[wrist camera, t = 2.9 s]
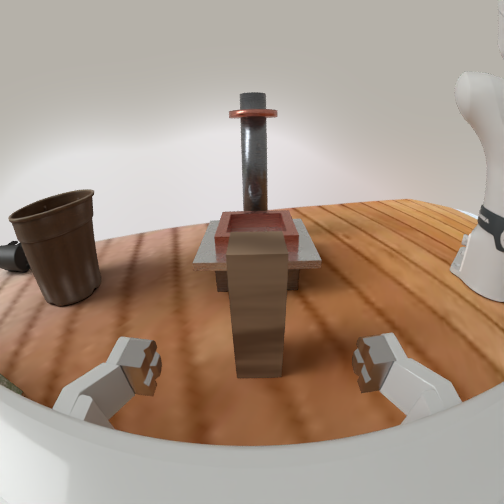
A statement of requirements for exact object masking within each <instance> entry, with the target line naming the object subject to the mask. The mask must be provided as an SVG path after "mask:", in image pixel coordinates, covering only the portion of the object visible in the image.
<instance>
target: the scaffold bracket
mask: <svg viewBox="0 0 504 504" xmlns="http://www.w3.org/2000/svg"><path fill="white" fill-rule="evenodd" d="M271 117H277V110H270V109H266V95H265V93H243V94H240V110H234V111H229V118H241V147H242V177H243V206H244V211H237V212H223V213H222V216H221V219H220V221H210V223H209V226H208V228H207V230H206V233H205V235H204V237H203V240H202V242H201V245H200V247H199V249H198V252H197V254H196V256H195V259H194V261H193V268H194V271H215V272H216V282H217V291H218V292H229V288H228V276H227V264H226V252H227V247H228V242H229V237H230V232H263V231H282V232H283V235H284V239H285V243H286V246H287V250H288V278H287V290H298V280H299V269H311V268H321V262H322V260H321V258H320V256H319V254H318V252H317V250H316V248H315V246H314V244H313V242H312V240H311V238H310V236H309V234H308V232H307V230H306V228H305V226H304V224H303V222H302V220H301V219H292V217H291V215H290V212H289V211H267V133H266V118H271Z"/></svg>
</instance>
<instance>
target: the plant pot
mask: <svg viewBox="0 0 504 504" xmlns="http://www.w3.org/2000/svg"><path fill="white" fill-rule="evenodd" d="M93 195H94V191H93V190H77V191H71V192H66V193H62V194H58V195H55V196H51V197H48V198H45V199H42V200H39V201H37V202H34V203H32V204H29V205H27V206H25V207H23V208H21V209H19V210H17V211H16V212H14V213H12V214H11V215H10V216H9V221H10V222H11V223H12V225H13V227H14V230H15V233H16V236H17V239H18V240H19V241H20V242H21V245H22V248H23V250H24V253H25V255H26V258H27V260H28V263H29V265H30V267H31V270H32V272H33V274H34V277H35V279H36V281H37V283H38V285H39V287H40V290H41V292H42V294H43V296H44V298H45V300H46V301H47V302H48V303H49V304H51V303H54V304H56V305H57V306H63V305H69V304H73V303H76V302H78V301H81V300H83V299H84V298H86V297H88V296H89V295H91V294H92V292H93V290H94V288H98V287H99V285H100V283H101V276H100V271H99V265H98V260H97V254H96V247H95V240H94V232H93V222H92V217H93V203H92V196H93Z"/></svg>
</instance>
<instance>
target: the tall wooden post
mask: <svg viewBox="0 0 504 504" xmlns="http://www.w3.org/2000/svg"><path fill="white" fill-rule="evenodd" d="M226 264H227V276H228V288H229V300H230V312H231V323H232V333H233V343H234V353H235V363H236V373H237V378H273V377H281V374H282V361H283V347H284V333H285V317H286V299H287V278H288V250H287V246H286V243H285V239H284V235H283V232H282V231H263V232H230V237H229V242H228V247H227V252H226Z"/></svg>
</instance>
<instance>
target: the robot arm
mask: <svg viewBox="0 0 504 504" xmlns="http://www.w3.org/2000/svg"><path fill="white" fill-rule="evenodd" d="M498 16H499V17H498V24H499V26H498V27H499V28H498V47H499V50H500V53H501V55H502V57H503V59H504V0H498ZM455 100H456V104H457V106H458V109H459V111H460V113H461V114H462V116H463V117H464V119H465V120H466V121H467V122H468V123H469V124H470V125H471V127H472V128H473V129H474V131H475V132H476V134H477V135H478V137H479V139H480V141H481V144H482V146H483V148H484V152H485V156H486V163H487V180H486V191H485V198H484V204H483V205H482V206H481V210H480V211H479V217H478V224H477V226H476V227H475V228H474V230H473V231H472V233H471V234H469V236H468V235H466V234H464V236H463V240H462V245H465V246H466V247H461V248H460V249H459V251H458V253H457V255H456V257H455V259H454V261H453V263H452V265H451V267H450V271H451V272H452V273H453V274H455V275H456V276H458V277H459V278H461V279H462V280H463V282H464V283H465V284H466V285H467V286H469V287H470V288H471V289H472V290H474V291H475V292H477V293H478V294H480V295H482V296H484V297H486V298H489V299H491V300H495V301H500V302H504V78H501V77H498V76H495V75H492V74H489V73H484V72H464V73H463V74H461V75H460V77H459V78H458V80H457V82H456V86H455ZM356 345H357V347H358V349H357V350H355V351H354V353H353V357H352V366H353V370H354V373H355V374H356V375H358V376H359V378H358V381H357V382H358V385H359V388H360V391H361V393H366V392H373V391H379V390H380V392H381V393H382V394H383V395H384V396H385V397H387V398H388V399H389V400H390V401H391V402H392V403H393V404H394V405H396V406H397V407H398V408H399V409H400V410H401V411H402V412H403V413H405V414H406V415H407V416H406V418H405V419H404V420H403V422H402V423H401V424H400V425H398V426H395V427H391V428H387V429H384V430H380V431H375V432H371V433H367V434H362V435H357V436H352V437H346V438H341V439H334V440H328V441H320V442H312V443H302V444H290V445H273V446H225V445H207V444H196V443H186V442H178V441H171V440H164V439H158V438H152V437H146V436H141V435H136V434H132V433H127V432H123V431H119V430H115V428H114V427H113V426H112V425H111V423H110V422H109V421H108V420H109V419H110V418H111V417H112V416H113V415H114V414H115V413H116V412H117V411H119V410H120V409H121V408H122V407H123V406H124V405H125V404H126V403H127V402H128V401H129V400H130V399H131V398H132V397H133V396H135V394H138V395H145V396H154V393H155V390H156V386H157V383H156V380H155V379H157V378H158V377H159V376H160V373H161V367H162V362H161V357H160V355H159V354H158V353H157V352H156V349H157V345H156V342H155V341H153V340H146V339H138V338H128V337H120V338H119V339H118V341H117V342H116V344H115V346H114V348H113V350H112V352H111V354H110V356H109V358H108V360H107V362H106V363H102V364H100V365H98V366H97V367H95V368H94V369H92V370H91V371H89V372H87V373H86V374H84V375H83V376H81V377H80V378H78V379H76V380H75V381H73V382H72V383H70V384H69V385H67V386H65V387H64V388H63V389H62V391H61V393H60V395H59V397H58V399H57V401H56V403H55V405H54V406H53V408H52V409H51V408H48V407H46V406H43V405H41V404H39V403H36V402H34V401H32V400H30V399H28V398H26V397H24V396H21V395H19V394H17V393H15V392H14V391H12V390H10V389H8V388H6V387H4V386H2V385H0V504H504V382H502V383H500V384H499V385H497V386H495V387H493V388H491V389H489V390H487V391H485V392H483V393H481V394H479V395H477V396H475V397H473V398H471V399H469V400H467V401H465V402H461V400H460V398H459V396H458V394H457V392H456V391H455V389H454V387H453V385H452V383H451V382H450V381H448V380H446V379H445V378H443V377H441V376H440V375H438V374H436V373H435V372H433V371H431V370H430V369H428V368H426V367H425V366H423V365H422V364H420V363H418V362H417V361H415V360H413V359H412V358H407V356H406V354H405V352H404V351H403V349H402V347H401V345H400V344H399V342H398V340H397V338H396V337H395V335H394V334H393V333H386V334H381V335H373V336H365V337H359V339H358V341H357V344H356Z"/></svg>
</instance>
